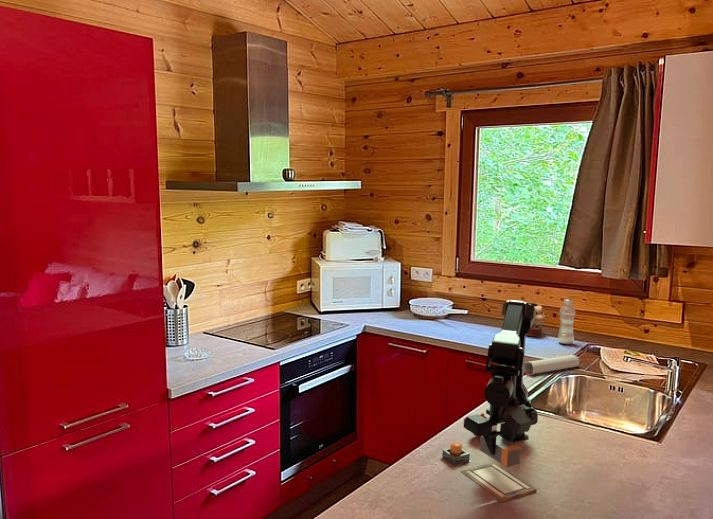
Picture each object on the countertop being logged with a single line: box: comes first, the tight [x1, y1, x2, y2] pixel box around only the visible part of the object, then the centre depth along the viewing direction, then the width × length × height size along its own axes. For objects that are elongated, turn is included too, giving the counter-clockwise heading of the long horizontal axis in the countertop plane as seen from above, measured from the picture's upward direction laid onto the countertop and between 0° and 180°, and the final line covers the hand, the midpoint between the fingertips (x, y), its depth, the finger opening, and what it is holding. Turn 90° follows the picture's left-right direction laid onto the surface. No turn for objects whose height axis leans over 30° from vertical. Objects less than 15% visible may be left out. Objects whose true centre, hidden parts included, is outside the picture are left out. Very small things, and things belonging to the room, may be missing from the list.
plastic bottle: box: [557, 297, 576, 345], centre depth 270 cm, size 6×7×20 cm
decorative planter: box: [526, 302, 547, 337], centre depth 287 cm, size 20×12×14 cm, turn 26°
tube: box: [524, 354, 580, 376], centre depth 236 cm, size 5×5×25 cm
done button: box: [449, 441, 463, 456], centre depth 162 cm, size 3×3×2 cm
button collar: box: [439, 447, 473, 467], centre depth 162 cm, size 6×6×2 cm
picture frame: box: [460, 461, 537, 503], centre depth 151 cm, size 11×15×1 cm
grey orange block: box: [479, 435, 522, 469], centre depth 150 cm, size 4×10×4 cm, turn 28°
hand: (499, 452), depth 150 cm, fingers closed on grey orange block, 4 cm apart
